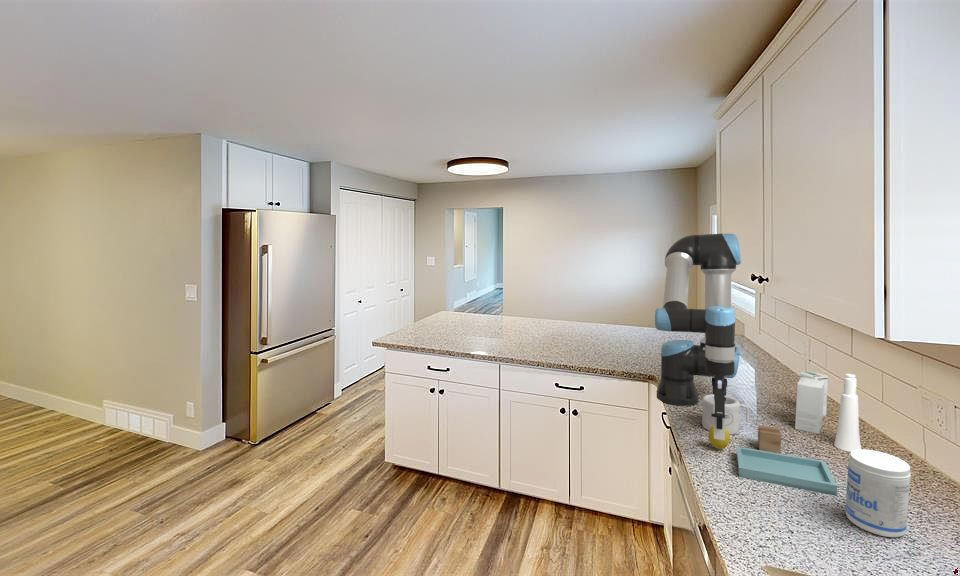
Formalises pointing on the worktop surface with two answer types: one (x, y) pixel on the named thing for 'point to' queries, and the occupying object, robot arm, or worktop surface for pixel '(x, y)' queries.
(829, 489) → the tray
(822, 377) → the syrup box
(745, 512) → the worktop surface
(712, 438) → the lemon
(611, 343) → the worktop surface
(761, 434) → the walnut block
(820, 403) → the skincare box
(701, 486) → the worktop surface
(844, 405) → the cosmetic bottle
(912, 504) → the worktop surface
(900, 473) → the supplement tub
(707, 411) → the mug
